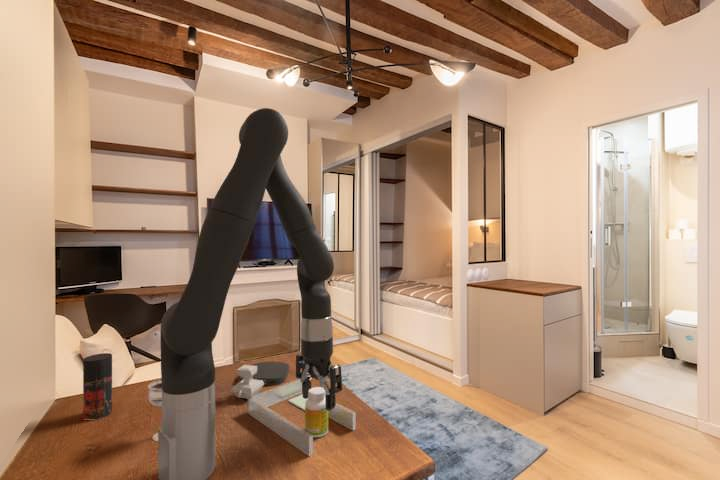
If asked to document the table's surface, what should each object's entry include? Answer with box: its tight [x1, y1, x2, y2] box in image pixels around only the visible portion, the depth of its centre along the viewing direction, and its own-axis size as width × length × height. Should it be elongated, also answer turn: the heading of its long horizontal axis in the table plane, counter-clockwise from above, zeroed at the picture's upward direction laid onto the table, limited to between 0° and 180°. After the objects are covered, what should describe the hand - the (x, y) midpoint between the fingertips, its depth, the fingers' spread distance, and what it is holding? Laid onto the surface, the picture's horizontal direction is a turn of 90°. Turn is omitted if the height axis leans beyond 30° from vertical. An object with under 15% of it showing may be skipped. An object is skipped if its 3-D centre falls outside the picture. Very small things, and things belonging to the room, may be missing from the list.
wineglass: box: [147, 378, 162, 442], centre depth 78 cm, size 7×7×12 cm
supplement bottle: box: [304, 386, 329, 438], centre depth 79 cm, size 5×5×10 cm
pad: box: [287, 393, 308, 412], centre depth 93 cm, size 7×9×1 cm
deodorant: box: [82, 352, 113, 420], centre depth 87 cm, size 6×6×15 cm
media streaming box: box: [239, 361, 290, 386], centre depth 112 cm, size 15×15×3 cm
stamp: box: [231, 364, 265, 400], centre depth 97 cm, size 9×7×8 cm
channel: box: [246, 378, 357, 457], centre depth 85 cm, size 18×26×4 cm
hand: (318, 403), depth 79 cm, fingers open, 8 cm apart
